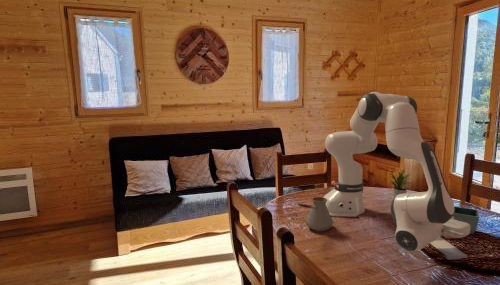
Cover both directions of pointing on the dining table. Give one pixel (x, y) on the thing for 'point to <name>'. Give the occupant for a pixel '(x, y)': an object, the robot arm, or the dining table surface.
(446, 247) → the track
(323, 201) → the coffee pot
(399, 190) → the house plant
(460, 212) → the flower pot
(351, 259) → the dining table surface
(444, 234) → the salmon red cube
